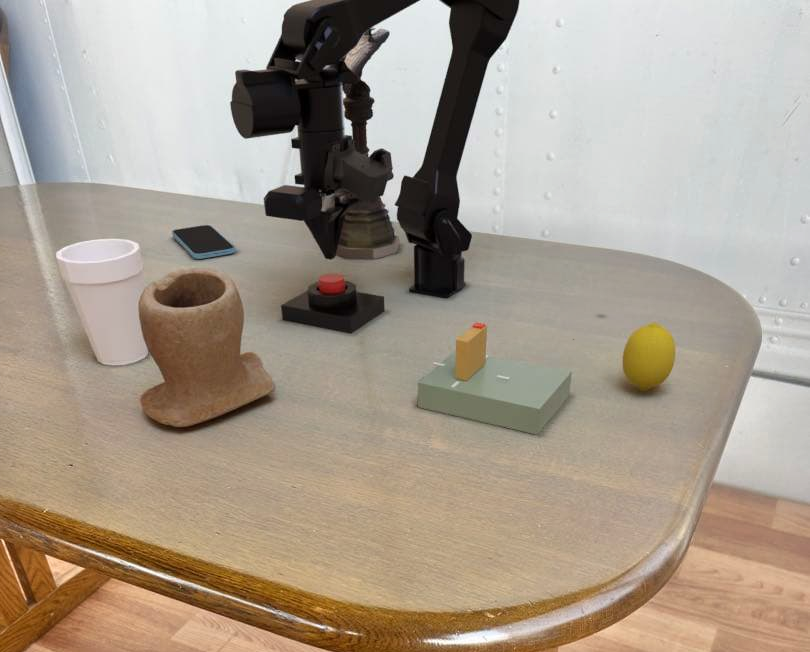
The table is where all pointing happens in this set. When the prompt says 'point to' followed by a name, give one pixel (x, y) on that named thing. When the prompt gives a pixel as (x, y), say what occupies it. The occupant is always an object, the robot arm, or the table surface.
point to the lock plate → (497, 393)
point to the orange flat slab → (470, 351)
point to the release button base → (333, 308)
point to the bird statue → (366, 221)
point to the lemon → (648, 356)
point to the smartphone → (203, 241)
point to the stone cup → (198, 348)
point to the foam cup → (107, 296)
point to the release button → (331, 283)
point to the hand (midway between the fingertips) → (330, 258)
